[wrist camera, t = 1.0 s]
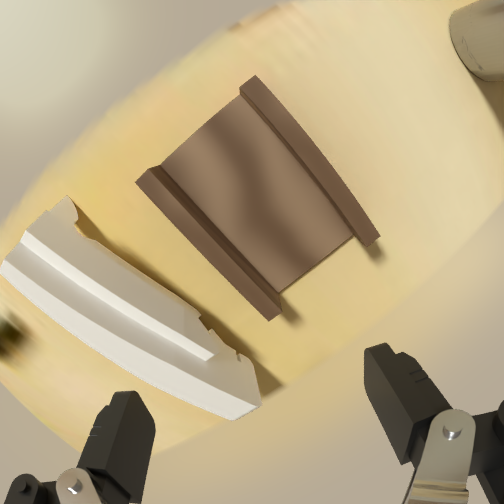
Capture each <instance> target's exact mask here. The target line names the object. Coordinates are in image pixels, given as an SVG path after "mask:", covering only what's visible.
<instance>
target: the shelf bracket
mask: <svg viewBox="0 0 504 504" xmlns="http://www.w3.org/2000/svg"><path fill="white" fill-rule="evenodd" d="M77 220H78V213H77V210H76V208H75V205H74V204H73V202H72V200H71V199H70V198H69V197H68V196H67V195H66V196H65V197H64V198H63V199H62V200H61V201H60V202H59V203H57V204H56V205H55V206H54V207H53V208H52V209H51V210H50V211H49V212H48V211H47V210H46V211H45V212H44V213H43V214H42V215H41V216H40V217H39V218H38V219H37V220H35V221H34V222H33V223H32V224H31V225H30V226H29V227H28V228H27V230H26V231H25V233H24V235H23V236H22V238H21V240H20V242H19V243H18V244H17V245H16V246H15V247H14V249H13V250H12V251H11V252H10V253H9V254H8V255H7V256H6V258H5V259H4V261H3V263H2V265H1V268H0V274H1V275H2V276H3V277H4V278H5V279H6V280H7V281H8V282H10V283H11V284H12V285H13V286H14V287H15V288H16V289H17V290H18V291H19V292H21V293H22V294H23V295H24V296H25V297H26V298H27V299H29V300H30V301H31V302H32V303H33V304H35V305H36V306H37V307H38V308H39V309H41V310H42V311H43V312H44V313H46V314H47V315H48V316H49V317H51V318H52V319H53V320H54V321H56V322H57V323H58V324H59V325H61V326H62V327H63V328H65V329H66V330H67V331H69V332H70V333H71V334H73V335H74V336H76V337H77V338H78V339H80V340H81V341H83V342H84V343H85V344H87V345H88V346H90V347H91V348H93V349H94V350H96V351H97V352H98V353H100V354H101V355H103V356H104V357H106V358H108V359H109V360H111V361H112V362H114V363H115V364H117V365H118V366H120V367H122V368H123V369H125V370H126V371H128V372H130V373H131V374H133V375H135V376H136V377H138V378H140V379H142V380H143V381H145V382H147V383H148V384H150V385H152V386H154V387H156V388H158V389H160V390H162V391H164V392H166V393H168V394H171V395H173V396H175V397H177V398H179V399H181V400H183V401H186V402H188V403H190V404H192V405H195V406H197V407H199V408H202V409H204V410H206V411H209V412H211V413H214V414H216V415H218V416H221V417H223V418H226V419H229V420H231V421H234V420H237V419H239V418H241V417H243V416H245V415H246V414H248V413H250V412H252V411H253V410H255V409H257V408H259V407H260V406H262V400H261V396H260V392H259V388H258V383H257V379H256V375H255V370H254V366H253V364H252V362H251V361H250V359H249V358H247V357H246V356H244V355H242V354H241V353H239V354H238V355H236V350H234V349H232V348H231V347H229V346H228V345H226V344H225V343H224V342H223V341H222V340H221V339H220V337H219V336H218V335H217V334H216V333H215V331H214V330H213V329H210V330H209V331H208V330H207V329H206V328H205V326H204V325H203V324H202V322H201V321H200V320H199V317H200V316H201V314H200V313H199V311H198V310H196V309H195V308H194V307H192V306H191V305H190V304H188V303H187V302H185V301H184V300H182V299H181V298H180V297H178V296H177V295H175V294H174V293H172V292H171V291H169V290H168V289H166V288H165V287H163V286H161V285H160V284H158V283H157V282H155V281H154V280H152V279H151V278H149V277H148V276H146V275H145V274H143V273H142V272H140V271H139V270H137V269H136V268H135V267H133V266H132V265H130V264H129V263H127V262H126V261H124V260H123V259H121V258H120V257H119V256H117V255H116V254H114V253H113V252H112V251H110V250H109V249H107V248H106V247H104V246H103V245H102V244H100V243H99V242H98V241H96V240H93V239H89V238H87V237H84V236H82V235H81V234H80V233H79V232H78V231H77V230H76V228H75V226H74V224H75V223H76V222H77Z"/></svg>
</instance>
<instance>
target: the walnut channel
mask: <svg viewBox="0 0 504 504" xmlns="http://www.w3.org/2000/svg"><path fill="white" fill-rule="evenodd" d="M239 89H240V95H238V96H237V97H236V98H235V99H233V100H232V101H231V102H230V103H229V104H227V105H226V106H225V107H224V108H222V109H221V110H220V111H219V112H218V113H217V114H215V115H214V116H213V117H212V118H211V119H209V120H208V121H207V122H206V123H205V124H204V125H203V126H201V127H200V128H199V129H198V130H197V131H196V132H195V133H194V134H192V135H191V136H190V137H189V138H188V139H187V140H186V141H185V142H184V143H183V144H181V145H180V146H179V147H178V148H177V149H176V150H175V151H174V152H173V153H172V154H171V155H170V156H169V157H168V158H167V159H166V160H165V161H164V162H163V163H162V164H160V165H158V166H155V167H152V168H149V169H147V170H146V172H145V173H144V174H143V175H142V176H141V177H140V178H139V179H138V180H137V181H136V182H135V183H136V184H137V185H138V186H139V188H140V189H141V190H142V191H143V192H144V193H145V194H146V195H147V196H148V197H149V198H150V200H151V201H152V202H153V203H154V204H155V205H156V206H157V207H158V208H159V209H160V210H161V211H162V212H163V214H164V215H165V216H166V217H167V218H168V219H169V220H170V221H171V222H172V223H173V224H174V225H175V226H176V227H177V228H178V230H179V231H180V232H181V233H182V234H183V235H184V236H185V237H186V238H187V239H188V240H189V241H190V242H191V243H192V244H193V245H194V246H195V247H196V248H197V250H198V251H199V252H200V253H201V254H202V255H203V256H204V257H205V258H206V259H207V260H208V261H209V262H210V263H211V264H212V265H213V266H214V267H215V268H216V269H217V270H218V271H219V272H220V273H221V274H222V275H223V276H224V277H225V278H226V279H227V280H228V281H229V282H230V283H231V284H232V285H233V286H234V287H235V288H236V289H237V290H238V292H239V293H240V294H241V295H242V296H243V297H244V298H245V299H246V300H247V301H248V302H249V303H250V304H251V305H252V306H253V307H254V308H255V309H257V310H258V311H259V312H260V313H261V314H262V315H263V316H264V317H265V318H266V319H267V320H268V321H270V320H272V319H273V318H275V317H276V316H277V315H279V314H280V313H281V312H282V308H281V303H280V299H279V294H278V293H279V292H280V291H281V290H283V289H284V288H285V287H287V286H288V285H289V284H291V283H292V282H293V281H294V280H296V279H297V278H298V277H300V276H301V275H302V274H304V273H305V272H306V271H308V270H309V269H310V268H311V267H313V266H314V265H315V264H317V263H318V262H319V261H320V260H322V259H323V258H324V257H325V256H327V255H328V254H329V253H331V252H332V251H333V250H334V249H336V248H337V247H338V246H339V245H341V244H342V243H343V242H344V241H346V240H347V239H348V238H349V237H351V236H352V235H355V236H356V237H357V238H358V239H359V240H360V241H361V242H362V243H363V244H364V245H365V246H366V247H368V246H369V245H370V244H371V243H373V242H374V241H375V240H376V239H377V238H379V237H380V234H379V233H378V231H377V230H376V228H375V227H374V225H373V224H372V222H371V221H370V219H369V218H368V216H367V215H366V213H365V212H364V210H363V209H362V207H361V206H360V204H359V203H358V201H357V200H356V199H355V197H354V196H353V194H352V193H351V191H350V190H349V189H348V187H347V186H346V184H345V183H344V182H343V180H342V179H341V178H340V176H339V175H338V174H337V172H336V171H335V169H334V168H333V167H332V165H331V164H330V163H329V162H328V160H327V159H326V158H325V156H324V155H323V154H322V152H321V151H320V150H319V149H318V147H317V146H316V145H315V143H314V142H313V141H312V140H311V138H310V137H309V136H308V135H307V133H306V132H305V131H304V130H303V129H302V127H301V126H300V125H299V124H298V123H297V121H296V120H295V119H294V118H293V117H292V115H291V114H290V113H289V112H288V111H287V110H286V108H285V107H284V106H283V105H282V104H281V103H280V101H279V100H278V99H277V98H276V97H275V96H274V95H273V94H272V92H271V91H270V90H269V89H268V88H267V87H266V86H265V85H264V84H263V82H262V81H261V80H260V79H259V78H258V77H257V76H256V75H255V76H253V77H252V78H251V79H249V80H248V81H247V82H245V83H244V84H243V85H242V86H240V87H239Z"/></svg>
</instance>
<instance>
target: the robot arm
mask: <svg viewBox="0 0 504 504" xmlns="http://www.w3.org/2000/svg"><path fill="white" fill-rule="evenodd" d="M449 27H450V34H451V38H452V42H453V44H454V46H455V49H456V51H457V53H458V55H459V56H460V58H461V60H462V61H463V62H464V64H465V65H466V66H467V67H468V69H469V70H470V71H471V72H472V73H474V74H475V75H476V76H477V77H479V78H481V79H482V80H485V81H503V80H504V0H479V1H476V2H474V3H471V4H469V5H467V6H465V7H462V8H460V9H458V10H456V11H454V13H453V14H452V15H451V18H450V25H449ZM364 385H365V390H366V393H367V396H368V398H369V400H370V402H371V404H372V406H373V408H374V410H375V412H376V414H377V416H378V418H379V420H380V422H381V424H382V426H383V428H384V430H385V432H386V435H387V436H388V439H389V441H390V443H391V445H392V447H393V449H394V451H395V453H396V455H397V458H398V460H399V462H400V464H401V465H403V464H405V463H408V462H410V461H411V462H412V464H413V466H414V468H415V469H414V472H413V474H412V477H411V481H410V483H409V486H408V489H407V491H406V494H405V496H404V499H403V501H402V504H467V502H468V497H469V492H468V490H466V483H467V478H468V476H471V475H475V474H476V476H477V478H478V480H479V482H480V484H481V486H482V488H483V490H484V492H485V494H486V497H487V498H488V501H489V503H490V504H504V400H503V402H502V403H501V404H500V406H499V409H498V410H497V411H493V412H489V413H484V414H480V415H475V416H471V415H470V414H468V413H467V412H465V411H463V410H458V409H453V408H452V407H451V406H450V404H449V403H448V402H447V400H446V399H445V398H444V396H443V395H442V394H441V392H440V391H439V390H438V388H437V387H436V386H435V384H434V383H433V382H432V380H431V379H430V378H428V375H427V374H426V372H425V371H424V370H422V367H421V366H420V365H419V363H418V362H417V361H416V359H415V358H413V357H411V356H409V355H408V354H406V353H404V352H401V353H398V354H395V353H394V352H393V350H392V349H391V348H390V346H389V345H388V344H387V343H382V344H379V345H376V346H373V347H369V348H366V349H365V351H364ZM155 431H156V429H155V423H154V420H153V418H152V416H151V414H150V413H149V411H148V409H147V408H146V406H145V404H144V402H143V401H142V399H141V397H140V396H139V394H138V393H137V392H136V391H121V392H115V393H114V395H113V397H112V400H111V402H110V405H107V406H105V407H104V408H103V409H102V411H101V412H100V413H99V414H98V415H97V417H96V420H95V422H94V424H93V428H92V429H91V432H90V436H89V437H88V439H87V442H86V444H85V447H84V449H83V452H82V454H81V457H80V460H79V462H78V465H77V467H76V468H71V469H68V470H66V471H64V472H63V473H62V474H61V475H60V476H59V478H58V479H57V481H52V482H44V483H40V482H39V481H38V480H37V479H36V478H35V477H34V476H33V475H31V474H22V475H20V476H18V477H17V478H15V480H14V481H13V482H12V484H11V487H10V489H9V492H8V494H7V497H6V500H5V502H4V504H129V503H137V504H141V501H142V496H143V490H144V485H145V480H146V475H147V470H148V465H149V461H150V456H151V451H152V446H153V442H154V437H155Z"/></svg>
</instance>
